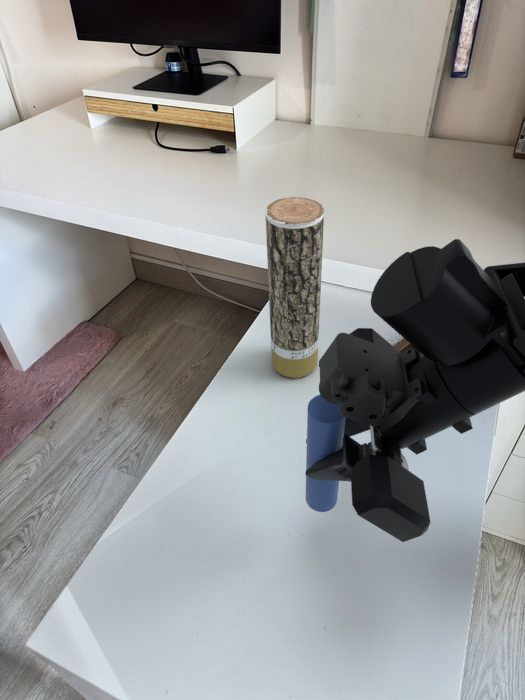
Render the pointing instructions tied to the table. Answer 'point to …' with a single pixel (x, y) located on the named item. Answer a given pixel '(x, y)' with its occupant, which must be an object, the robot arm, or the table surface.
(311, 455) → the peg
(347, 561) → the table surface
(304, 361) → the paper tube
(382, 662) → the table surface
